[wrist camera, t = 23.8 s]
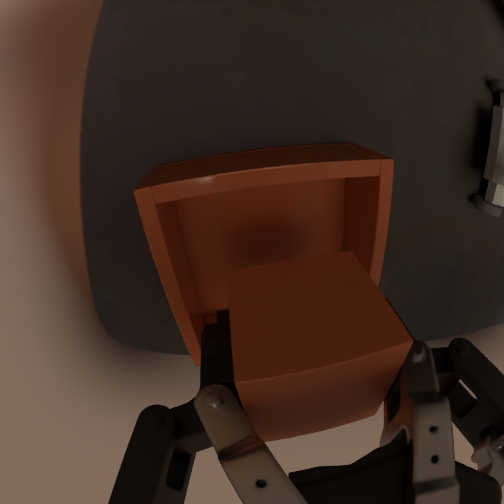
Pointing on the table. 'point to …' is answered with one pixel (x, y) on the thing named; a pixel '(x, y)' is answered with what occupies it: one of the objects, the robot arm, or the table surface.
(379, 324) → the block
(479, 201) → the toy car
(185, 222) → the terracotta bin
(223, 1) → the table surface
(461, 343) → the robot arm
